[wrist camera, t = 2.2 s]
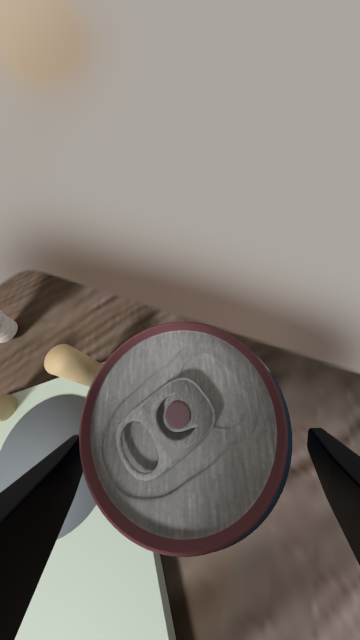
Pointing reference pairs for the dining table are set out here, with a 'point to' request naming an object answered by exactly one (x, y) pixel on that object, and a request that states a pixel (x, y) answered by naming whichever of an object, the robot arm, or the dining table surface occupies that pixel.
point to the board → (79, 525)
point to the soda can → (185, 439)
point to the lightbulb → (7, 328)
